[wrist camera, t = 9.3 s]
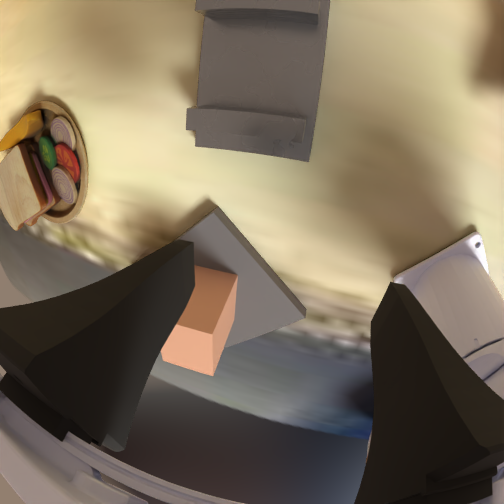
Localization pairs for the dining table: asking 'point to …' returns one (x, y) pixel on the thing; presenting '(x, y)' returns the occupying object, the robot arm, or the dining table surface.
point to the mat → (243, 278)
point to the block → (203, 322)
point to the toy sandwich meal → (43, 168)
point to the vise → (260, 75)
